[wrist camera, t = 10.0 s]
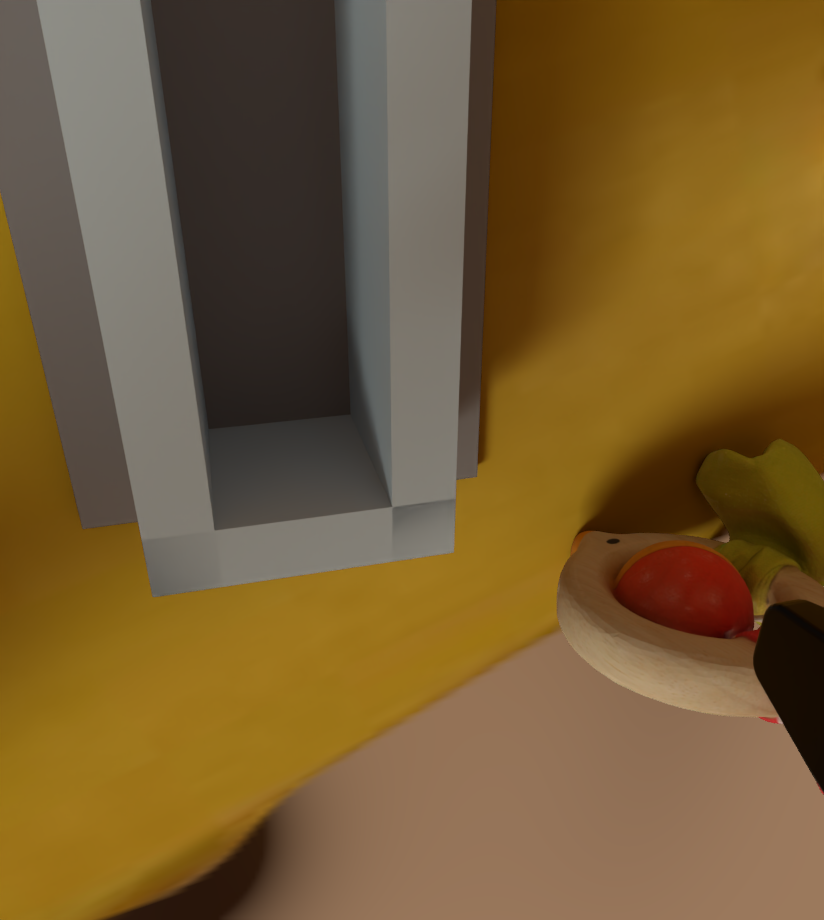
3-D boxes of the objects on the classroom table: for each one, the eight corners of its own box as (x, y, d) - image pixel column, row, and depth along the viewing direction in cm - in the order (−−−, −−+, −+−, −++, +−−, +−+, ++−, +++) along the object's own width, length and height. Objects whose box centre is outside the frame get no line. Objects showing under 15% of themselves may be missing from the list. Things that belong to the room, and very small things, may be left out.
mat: (472, 469, 21) (476, 477, 21) (84, 520, 19) (82, 529, 19) (502, -326, 14) (510, -337, 13) (-136, -395, 11) (-147, -410, 11)
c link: (401, 455, 20) (453, 552, 16) (159, 483, 19) (152, 596, 15) (399, -190, 14) (480, -283, 10) (37, -216, 12) (-29, -335, 9)
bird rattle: (551, 586, 27) (832, 606, 25) (550, 893, 17) (1003, 953, 16) (561, 423, 24) (879, 434, 22) (565, 683, 14) (1125, 732, 13)
